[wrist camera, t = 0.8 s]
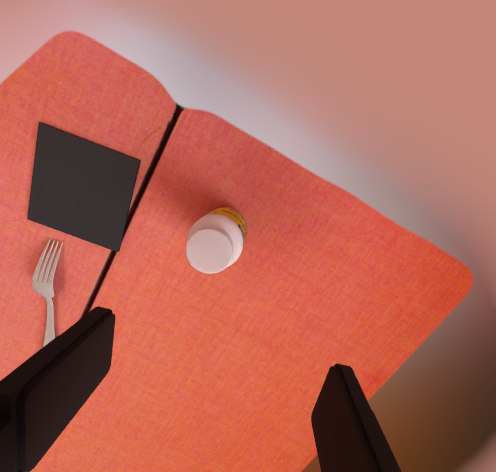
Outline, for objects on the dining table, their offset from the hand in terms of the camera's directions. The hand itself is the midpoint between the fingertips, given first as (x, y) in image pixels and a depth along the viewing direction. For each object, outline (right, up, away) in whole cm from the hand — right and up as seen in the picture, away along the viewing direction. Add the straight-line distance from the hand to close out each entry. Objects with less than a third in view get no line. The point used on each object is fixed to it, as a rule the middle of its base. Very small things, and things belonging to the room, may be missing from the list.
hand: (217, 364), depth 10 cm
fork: (-26, -5, +24) cm, 36 cm away
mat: (-19, +11, +19) cm, 29 cm away
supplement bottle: (-1, +6, +19) cm, 21 cm away
